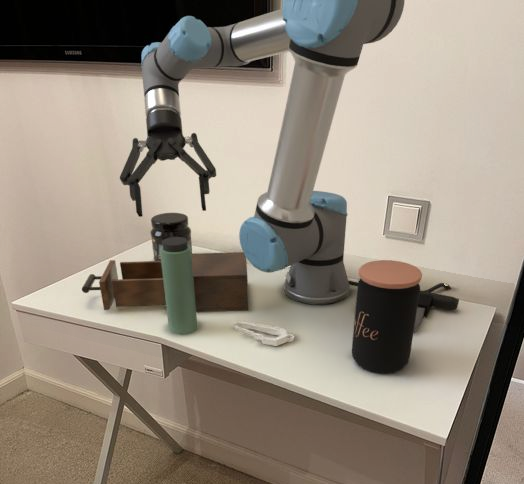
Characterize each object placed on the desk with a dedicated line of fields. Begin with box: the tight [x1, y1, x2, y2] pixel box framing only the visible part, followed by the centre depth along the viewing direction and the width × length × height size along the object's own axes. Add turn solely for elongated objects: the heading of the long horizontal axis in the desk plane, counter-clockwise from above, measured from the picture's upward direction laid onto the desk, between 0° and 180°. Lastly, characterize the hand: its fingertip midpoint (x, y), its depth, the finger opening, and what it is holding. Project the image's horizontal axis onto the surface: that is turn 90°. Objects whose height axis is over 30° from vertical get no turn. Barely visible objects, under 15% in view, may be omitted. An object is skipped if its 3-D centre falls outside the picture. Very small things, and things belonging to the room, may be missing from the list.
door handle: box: [413, 290, 460, 334], centre depth 117 cm, size 3×20×16 cm
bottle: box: [160, 237, 199, 335], centre depth 108 cm, size 6×6×19 cm
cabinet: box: [192, 251, 249, 313], centre depth 123 cm, size 18×14×9 cm
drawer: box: [81, 259, 166, 311], centre depth 122 cm, size 21×12×7 cm, turn 93°
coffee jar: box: [351, 259, 423, 375], centre depth 97 cm, size 11×11×18 cm
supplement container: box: [149, 212, 193, 261], centre depth 142 cm, size 10×10×12 cm
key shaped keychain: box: [233, 320, 295, 347], centre depth 109 cm, size 13×5×2 cm, turn 69°
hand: (171, 211), depth 114 cm, fingers open, 13 cm apart
